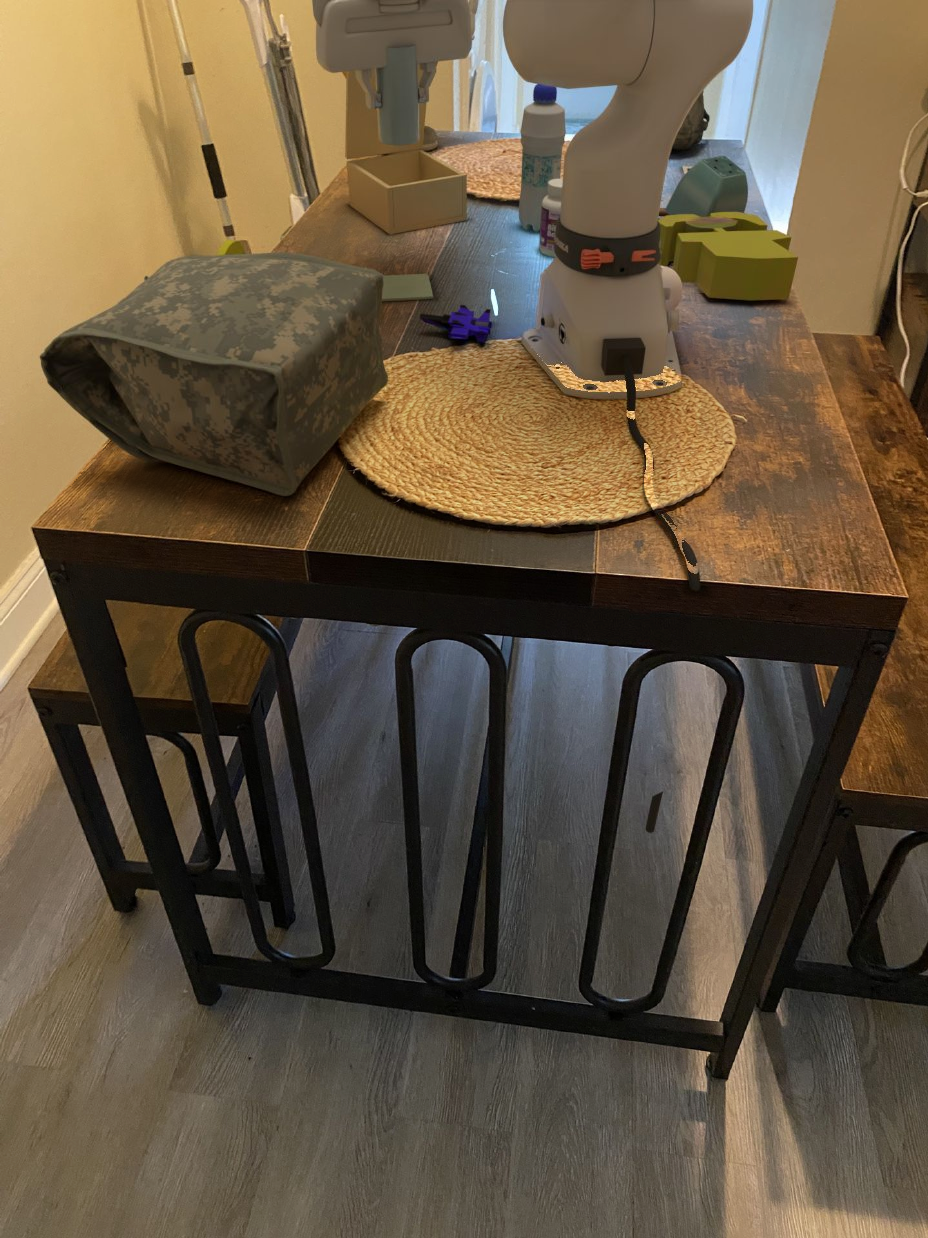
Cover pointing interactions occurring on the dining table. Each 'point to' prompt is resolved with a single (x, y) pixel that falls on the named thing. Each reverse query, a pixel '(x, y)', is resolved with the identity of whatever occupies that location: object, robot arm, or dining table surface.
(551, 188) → the pill bottle
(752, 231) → the toy
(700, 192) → the flower pot
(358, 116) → the lid
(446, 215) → the chest
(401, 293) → the mat
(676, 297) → the egg
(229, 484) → the dining table surface
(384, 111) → the grey cylinder
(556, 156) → the bottle
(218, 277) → the lunch bag
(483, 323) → the toy spaceship
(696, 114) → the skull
